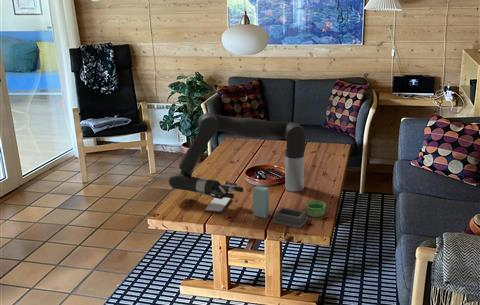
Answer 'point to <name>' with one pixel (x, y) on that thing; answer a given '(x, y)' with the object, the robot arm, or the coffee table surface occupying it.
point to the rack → (290, 217)
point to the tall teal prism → (261, 201)
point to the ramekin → (315, 208)
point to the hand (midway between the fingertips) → (238, 193)
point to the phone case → (217, 205)
